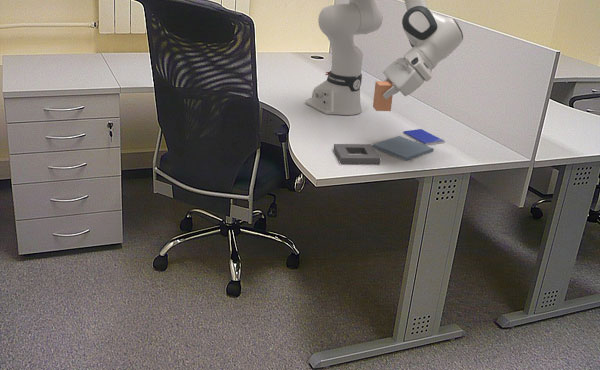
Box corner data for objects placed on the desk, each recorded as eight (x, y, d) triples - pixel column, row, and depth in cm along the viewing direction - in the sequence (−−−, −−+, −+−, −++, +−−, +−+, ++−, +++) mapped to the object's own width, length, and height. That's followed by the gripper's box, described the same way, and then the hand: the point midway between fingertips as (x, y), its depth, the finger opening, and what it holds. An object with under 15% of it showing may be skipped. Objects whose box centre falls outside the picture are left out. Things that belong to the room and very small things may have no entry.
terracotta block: (376, 110, 197) (379, 85, 194) (372, 106, 201) (375, 81, 198) (390, 111, 198) (393, 85, 194) (386, 106, 202) (390, 81, 199)
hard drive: (444, 140, 218) (422, 128, 228) (425, 142, 214) (403, 130, 224) (444, 144, 218) (421, 132, 228) (424, 147, 215) (402, 135, 225)
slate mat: (372, 146, 210) (372, 144, 210) (399, 138, 219) (399, 135, 219) (406, 160, 201) (406, 157, 201) (433, 151, 210) (433, 148, 210)
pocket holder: (340, 164, 195) (341, 158, 194) (333, 149, 206) (333, 143, 205) (379, 164, 197) (380, 158, 196) (370, 150, 208) (370, 144, 207)
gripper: (401, 48, 203) (367, 77, 206) (420, 64, 185) (383, 96, 187) (413, 62, 205) (379, 91, 208) (433, 79, 187) (396, 111, 190)
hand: (381, 94), depth 197 cm, fingers closed on terracotta block, 4 cm apart
